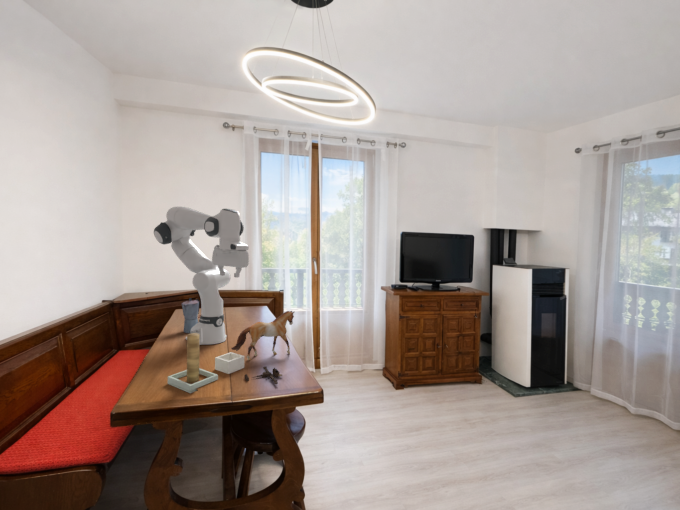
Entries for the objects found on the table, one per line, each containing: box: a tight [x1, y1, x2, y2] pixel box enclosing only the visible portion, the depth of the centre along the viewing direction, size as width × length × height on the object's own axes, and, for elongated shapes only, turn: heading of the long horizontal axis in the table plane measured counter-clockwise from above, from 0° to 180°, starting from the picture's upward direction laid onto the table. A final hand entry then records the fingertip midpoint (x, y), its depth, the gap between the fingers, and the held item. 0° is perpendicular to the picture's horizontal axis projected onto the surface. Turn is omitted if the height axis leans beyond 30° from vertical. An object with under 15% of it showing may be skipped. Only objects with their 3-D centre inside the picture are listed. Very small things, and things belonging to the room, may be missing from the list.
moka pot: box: [181, 297, 201, 334], centre depth 199 cm, size 10×15×20 cm, turn 172°
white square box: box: [214, 351, 245, 375], centre depth 142 cm, size 8×8×6 cm
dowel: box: [186, 333, 200, 384], centre depth 129 cm, size 4×4×18 cm
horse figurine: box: [230, 310, 295, 361], centre depth 160 cm, size 31×8×21 cm, turn 123°
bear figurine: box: [243, 366, 283, 385], centre depth 135 cm, size 18×4×14 cm
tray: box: [167, 367, 219, 394], centre depth 130 cm, size 14×12×3 cm
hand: (229, 276), depth 150 cm, fingers open, 8 cm apart
